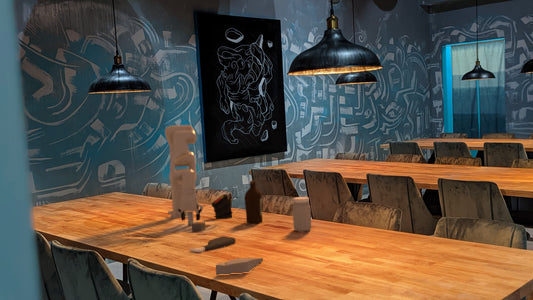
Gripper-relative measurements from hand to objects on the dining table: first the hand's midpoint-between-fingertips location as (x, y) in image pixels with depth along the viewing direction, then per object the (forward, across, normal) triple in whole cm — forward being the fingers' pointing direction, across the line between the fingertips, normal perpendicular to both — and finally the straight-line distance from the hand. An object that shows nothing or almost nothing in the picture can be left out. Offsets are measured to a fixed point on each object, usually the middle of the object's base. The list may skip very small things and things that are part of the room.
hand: (190, 220), depth 323 cm
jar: (+5, +68, +2) cm, 68 cm away
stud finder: (+4, +11, -11) cm, 16 cm away
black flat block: (+4, +8, +27) cm, 29 cm away
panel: (+4, +4, -7) cm, 9 cm away
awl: (+3, 0, 0) cm, 3 cm away
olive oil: (+5, +33, +19) cm, 38 cm away
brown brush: (+6, +34, -41) cm, 53 cm away
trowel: (+7, +62, -73) cm, 96 cm away
